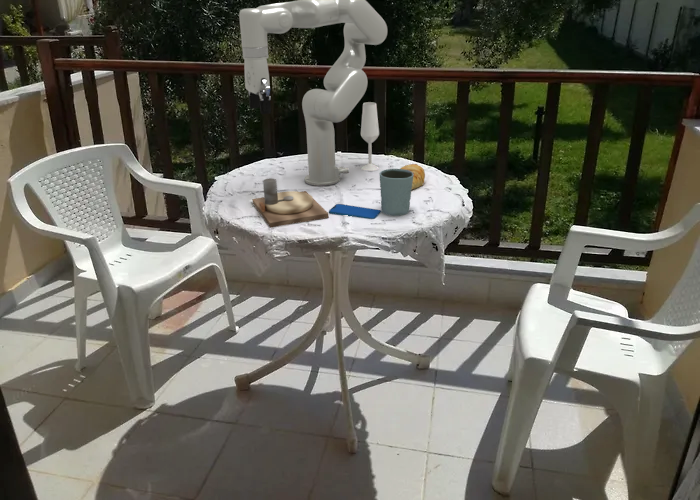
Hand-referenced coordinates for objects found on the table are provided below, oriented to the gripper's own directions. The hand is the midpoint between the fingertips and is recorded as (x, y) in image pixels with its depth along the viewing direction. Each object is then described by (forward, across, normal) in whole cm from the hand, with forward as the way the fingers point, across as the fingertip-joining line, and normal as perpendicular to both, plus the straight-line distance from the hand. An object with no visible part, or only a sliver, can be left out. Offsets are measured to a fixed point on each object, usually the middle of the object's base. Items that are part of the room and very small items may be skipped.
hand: (260, 110), depth 184 cm
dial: (+26, +15, +1) cm, 31 cm away
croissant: (+29, +13, +47) cm, 57 cm away
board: (+28, +15, +1) cm, 32 cm away
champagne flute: (+28, -9, +44) cm, 53 cm away
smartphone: (+29, +27, +18) cm, 44 cm away
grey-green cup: (+28, +32, +30) cm, 52 cm away
